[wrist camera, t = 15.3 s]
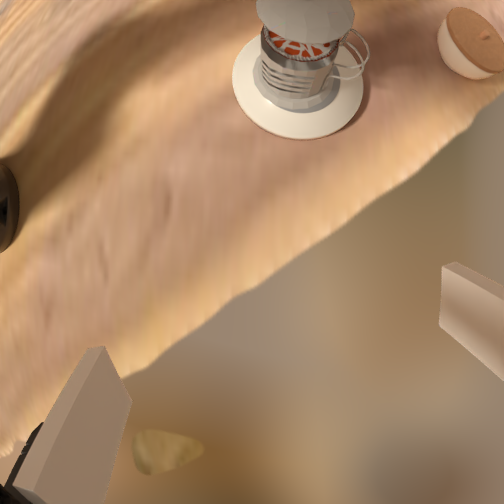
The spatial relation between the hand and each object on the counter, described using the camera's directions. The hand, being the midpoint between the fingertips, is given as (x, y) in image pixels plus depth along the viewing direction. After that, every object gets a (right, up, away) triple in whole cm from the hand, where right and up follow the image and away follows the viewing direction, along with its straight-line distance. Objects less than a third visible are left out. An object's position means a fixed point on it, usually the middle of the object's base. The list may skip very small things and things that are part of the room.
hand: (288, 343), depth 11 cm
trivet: (+4, +24, +24) cm, 34 cm away
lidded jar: (+30, +33, +22) cm, 49 cm away
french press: (+5, +24, +22) cm, 33 cm away
